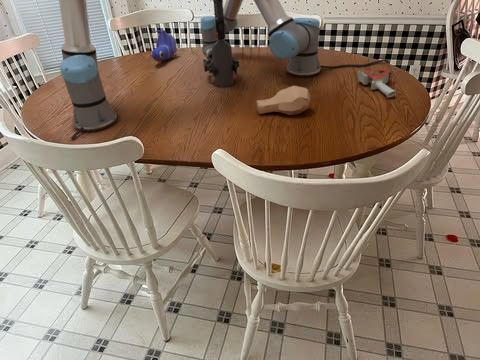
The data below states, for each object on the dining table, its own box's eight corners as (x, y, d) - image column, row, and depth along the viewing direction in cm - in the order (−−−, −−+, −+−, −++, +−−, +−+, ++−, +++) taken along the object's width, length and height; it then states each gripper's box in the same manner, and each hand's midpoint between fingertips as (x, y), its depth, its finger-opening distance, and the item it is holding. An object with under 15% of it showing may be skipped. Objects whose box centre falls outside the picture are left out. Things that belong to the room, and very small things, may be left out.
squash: (314, 116, 128) (313, 95, 122) (259, 125, 130) (256, 105, 124) (308, 99, 136) (307, 78, 129) (257, 108, 138) (253, 88, 131)
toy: (165, 61, 201) (145, 67, 179) (160, 29, 194) (139, 31, 172) (181, 61, 199) (163, 66, 177) (177, 28, 192) (158, 30, 170)
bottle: (217, 88, 155) (213, 37, 142) (213, 81, 161) (208, 33, 149) (236, 84, 157) (233, 35, 144) (230, 78, 163) (227, 30, 151)
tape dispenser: (391, 103, 136) (403, 82, 149) (394, 90, 133) (407, 70, 145) (346, 93, 144) (362, 74, 156) (348, 81, 140) (364, 62, 153)
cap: (227, 37, 147) (226, 32, 146) (219, 39, 145) (218, 34, 144) (222, 35, 149) (221, 31, 148) (214, 37, 148) (214, 32, 147)
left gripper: (228, -25, 126) (232, 42, 140) (222, -31, 142) (226, 30, 155) (207, -24, 126) (213, 44, 139) (203, -29, 141) (209, 32, 155)
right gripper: (236, 61, 173) (249, 76, 155) (194, 67, 169) (202, 83, 152) (236, 45, 169) (249, 59, 151) (191, 51, 165) (200, 66, 147)
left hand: (220, 37), depth 147 cm, fingers open, 6 cm apart
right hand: (225, 71), depth 151 cm, fingers closed on bottle, 8 cm apart
